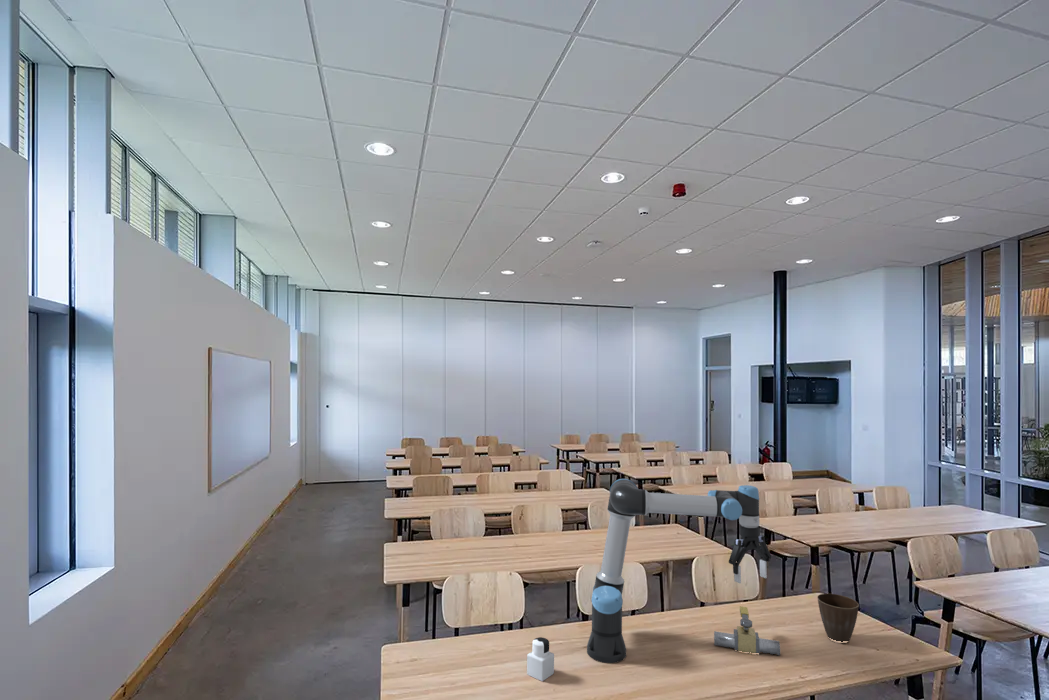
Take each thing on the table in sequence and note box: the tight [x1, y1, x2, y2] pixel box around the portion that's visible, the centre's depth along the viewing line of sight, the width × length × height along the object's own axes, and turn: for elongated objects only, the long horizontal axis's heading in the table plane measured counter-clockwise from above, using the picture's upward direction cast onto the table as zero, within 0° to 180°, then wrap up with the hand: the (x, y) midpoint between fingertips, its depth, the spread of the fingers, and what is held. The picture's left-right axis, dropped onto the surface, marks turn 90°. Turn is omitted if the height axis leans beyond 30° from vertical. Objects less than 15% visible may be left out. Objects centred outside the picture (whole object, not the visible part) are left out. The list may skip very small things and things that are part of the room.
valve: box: [713, 625, 781, 656], centre depth 216 cm, size 24×7×9 cm, turn 72°
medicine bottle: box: [526, 637, 555, 682], centre depth 195 cm, size 7×7×12 cm
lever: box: [739, 606, 753, 628], centre depth 222 cm, size 17×4×2 cm, turn 162°
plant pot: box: [817, 593, 860, 642], centre depth 226 cm, size 15×15×16 cm
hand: (750, 579), depth 216 cm, fingers open, 13 cm apart
